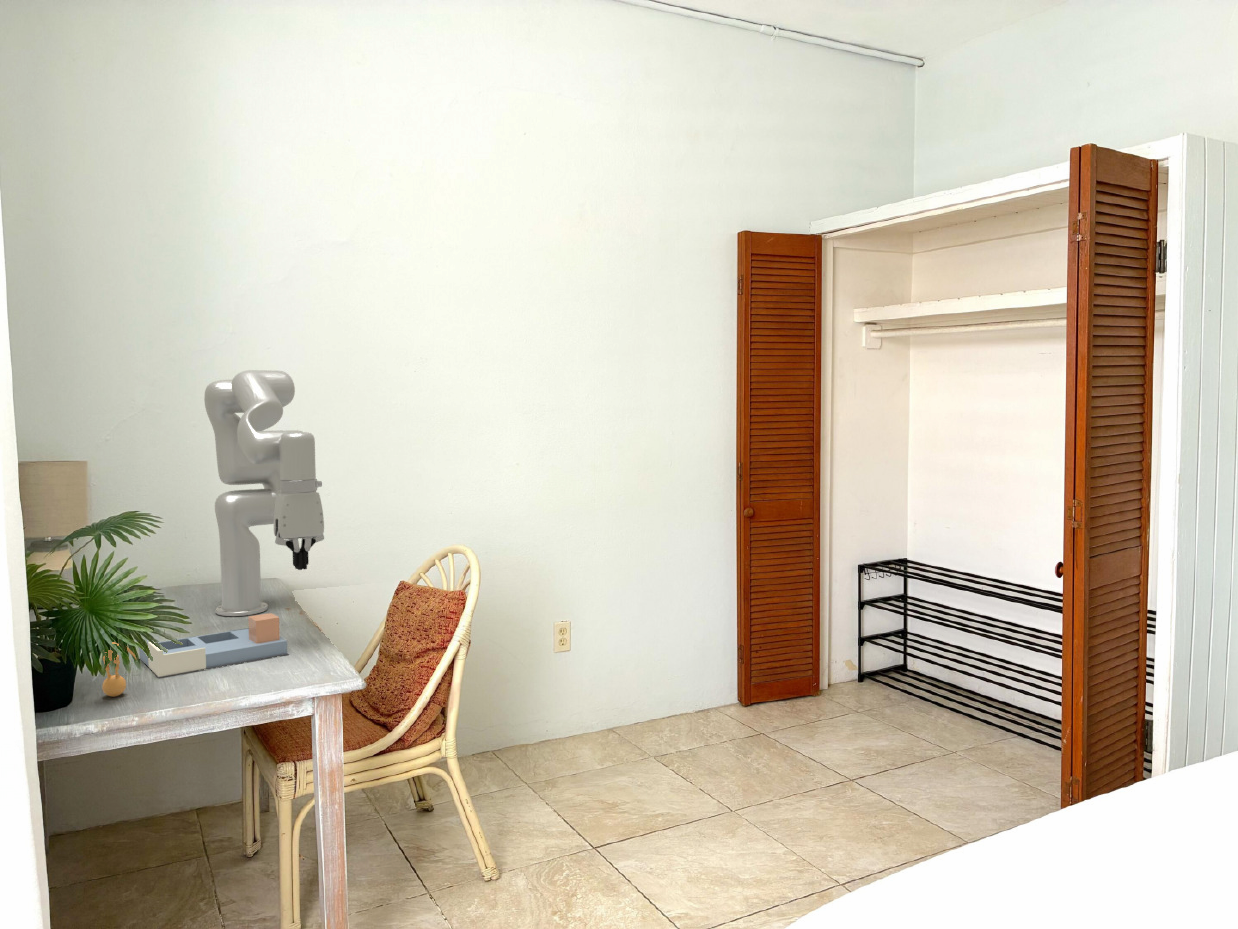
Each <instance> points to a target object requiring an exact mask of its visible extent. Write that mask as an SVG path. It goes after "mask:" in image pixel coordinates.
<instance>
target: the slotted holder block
mask: <svg viewBox="0 0 1238 929" xmlns="http://www.w3.org/2000/svg"><path fill="white" fill-rule="evenodd" d="M171 640H172V639H170V640H165V641H157V642H158V643H159V644H161V645H162V646H163V647H165V648H166V649H168V652H167V653H166V652H164V651H163V650H160V649H159V648H158V647H156V646H155V645H154V644H152V643H151V642H149V641H148V640H147V644H148V648H149V650H150V653H151V656H152V657H153V661H152V662H151V660H150V658H148V656H146V654H145V653H144V651H143V650H142V649H141V648H140V647H139V646H138V648H139V658H140V659H139V660H140V661H141V662H142V663H143V662H145V664H146V665H147V666H148V667H149V668H148V667H147V666H146V665H145V664H144V665H145V666H146V667H147V668H148V669H149V670H150V669H151V670H152V671H151V670H150V671H151V672H152V673H153V674H154V675H155V676H156V677H157V678H158V679H161V678H168V677H173V676H178V675H185V674H190V673H196V672H200V671H199V670H202V671H205V670H204V669H208V670H212V669H211V668H213V669H217V668H216V667H219V668H223V667H222V666H224V667H228V666H227V665H230V666H234V665H233V664H235V665H240V664H239V663H241V664H245V663H244V662H247V663H252V662H257V661H262V660H267V659H273V658H272V657H274V658H278V657H277V656H280V657H285V656H289V655H290V654H289V653H288V640H286V639H285V638H283V637H282V636H280V640H275V641H270V642H264V643H258V644H256V643H255V642H253V641H252V640H250V639H249V627H247V628H241V629H240V628H239V629H234V630H228V631H222V632H215V633H214V632H213V633H207V634H203V635H202V634H201V635H197V636H196V635H195V636H191V637H190V636H189V637H184V638H183V637H182V638H178V639H177V640H178V641H180V642H182V643H183V645H180V644H175V643H173V642H172V641H171Z"/></svg>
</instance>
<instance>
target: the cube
mask: <svg viewBox="0 0 1238 929" xmlns="http://www.w3.org/2000/svg"><path fill="white" fill-rule="evenodd" d="M247 618H248V619H247V620H248V623H247V624H248V628H249V639H250V640H252V641H253V642H255V643H256V644H258V643H264V642H270V641H275V640H280V637H281V636H280V634H281V633H280V617H279V616H277V615H276V614H273V613H272V612H270V613H262V614H254V615H247Z"/></svg>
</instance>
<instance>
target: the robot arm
mask: <svg viewBox="0 0 1238 929" xmlns="http://www.w3.org/2000/svg"><path fill="white" fill-rule="evenodd" d="M295 390H296V388H295V383H294V380H293V378H292V377H291V376H290V375H289V374H288V372H286V371H282V370H272V369H271V370H258V369H255V370H254V369H250V370H249V369H248V370H244V371H240V372H238V373H237V374H235V375H234V377H232V379H222V380H215V381H212V382H211V383H209V384H208V385H207V386H206V388H205V390H204V397H203V398H204V407H205V411H206V414H207V417H208V419H209V421H210V425H211V426H212V430H213V434H214V441H215V452H216V454H215V455H216V465H217V473H218V478H219V479H220V481H221V483H223V484H224V485H229V486H241V485H242V486H243V485H244V486H245V485H262V486H263V488H258V489H257V488H255V489H252V488H250V489H237V490H235V489H234V490H229V491H225V492H222V493H221V494H219V495H218V496H217V498H216V499H215V501H214V512H215V517H216V522H217V529H218V535H219V553H220V554H219V556H220V583H221V587H220V588H221V604H220V605H218V606H217V607H216V608H215V614H217V615H218V616H222V617H243V616H244V617H245V616H253V615H258V614H260V613H264V612H265V611H267V610H268V609H269V605H268V603H266V602H265V601H262V583H261V578H262V577H261V548H260V547H261V546H260V545H261V544H260V542H259V539H258V537H256V535H255V534H254V533H253V532H252V531H251V530H250V529H249V528H251V527H255V526H266V525H267V526H269V525H273V534H274V536H275V541H274V543H275V545H278V546H283V547H285V546H286V547H287V548H288V549H289V551H291V552H292V565H293V567H294V569H296V570H298V571H302V570H307V569H308V565H309V564H310V563H309V562H310V560H309V551H310V550H311V548H312V547H313V546H314V545H315V544H316V543H319V542H322V541H324V540H325V535H324V532H325V520H324V510H323V504H322V500H321V495H320V492H319V491H318V488H321V487H323V482H322V480H318V479H317V476H316V473H317V472H316V470H317V468H316V443H315V442H316V440H315V436H314V434H312V433H311V432H307V431H303V430H298V429H297V430H295V429H293V430H287V429H286V430H268V429H270V428H272V427H274V426H275V425H277V424H278V423H279V422H280V420H281V419H282V418H283V415H284V414H283V413H284V408H285V407H286V406H288V405H289V404H291V402H292V401H293V400H294V397H295V392H296V391H295ZM237 414H242V416H239V415H237ZM317 491H318V492H317ZM300 539H301V543H299V540H300Z"/></svg>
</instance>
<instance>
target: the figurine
mask: <svg viewBox="0 0 1238 929" xmlns="http://www.w3.org/2000/svg"><path fill="white" fill-rule="evenodd" d="M112 644H117V646H119V644H120V643H117V642H115V641H114V642H112ZM126 647H127V646H126ZM126 651H127V652H128V653H129V654H130V655H131V656H132V657H134V659H135V660H137V657H135V656H136V654H135V653H134V652H133V651H132V650H131V649H130V648H129V647H127V650H126ZM105 653H107V652H104V654H105ZM112 653H113V651H112V650H108V658H109V660H110V661H113V660H112ZM116 655H117V657H116V660H115V658H114V661H113V662H112V663H113V664H116V666H115V668H114V671H115V674H113V675H112V674H111V672H110V666H109V665H110V664H111V662H110V663H109V664H108V665H107V666H105V671H106V676H107V677H106V678H105V680H103V682H102V685H101V688H102V691H103V693H104V694H105V695H106V696H108V697H118V696H120V695H122V694H123V693H124V692H125V690H126V689H127V681H126V679H125V678H124V677H123V676H121V675H120V674H119V670H120V663H121V661H120V655H118V654H116ZM105 656H106V655H104V656H102V661H103V664H104V665H105Z"/></svg>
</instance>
